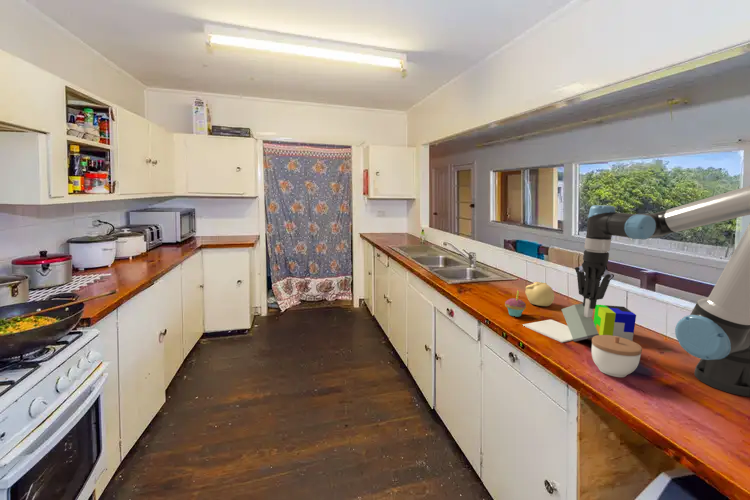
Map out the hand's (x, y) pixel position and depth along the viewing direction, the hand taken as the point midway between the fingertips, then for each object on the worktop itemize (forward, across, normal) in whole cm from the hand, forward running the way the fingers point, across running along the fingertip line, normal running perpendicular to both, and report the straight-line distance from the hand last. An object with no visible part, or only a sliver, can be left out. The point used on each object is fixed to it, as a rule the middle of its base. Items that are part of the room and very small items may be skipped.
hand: (587, 316), depth 134 cm
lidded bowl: (+10, -18, +13) cm, 24 cm away
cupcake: (+10, +32, +1) cm, 34 cm away
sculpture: (+10, +39, -22) cm, 46 cm away
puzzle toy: (+10, +1, -17) cm, 20 cm away
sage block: (+8, -1, 0) cm, 8 cm away
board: (+10, +12, 0) cm, 15 cm away
